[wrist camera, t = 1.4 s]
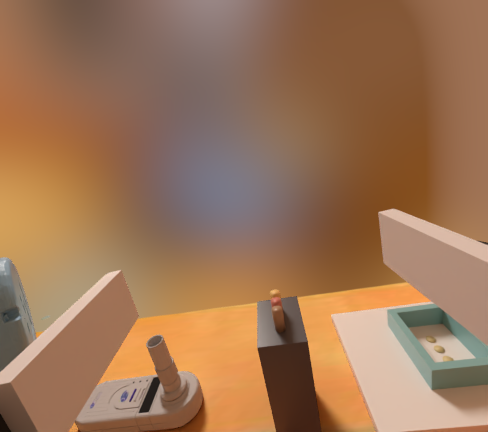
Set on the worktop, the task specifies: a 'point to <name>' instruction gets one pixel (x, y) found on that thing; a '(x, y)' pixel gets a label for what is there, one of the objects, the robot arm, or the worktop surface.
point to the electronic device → (144, 398)
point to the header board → (416, 368)
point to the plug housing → (286, 364)
